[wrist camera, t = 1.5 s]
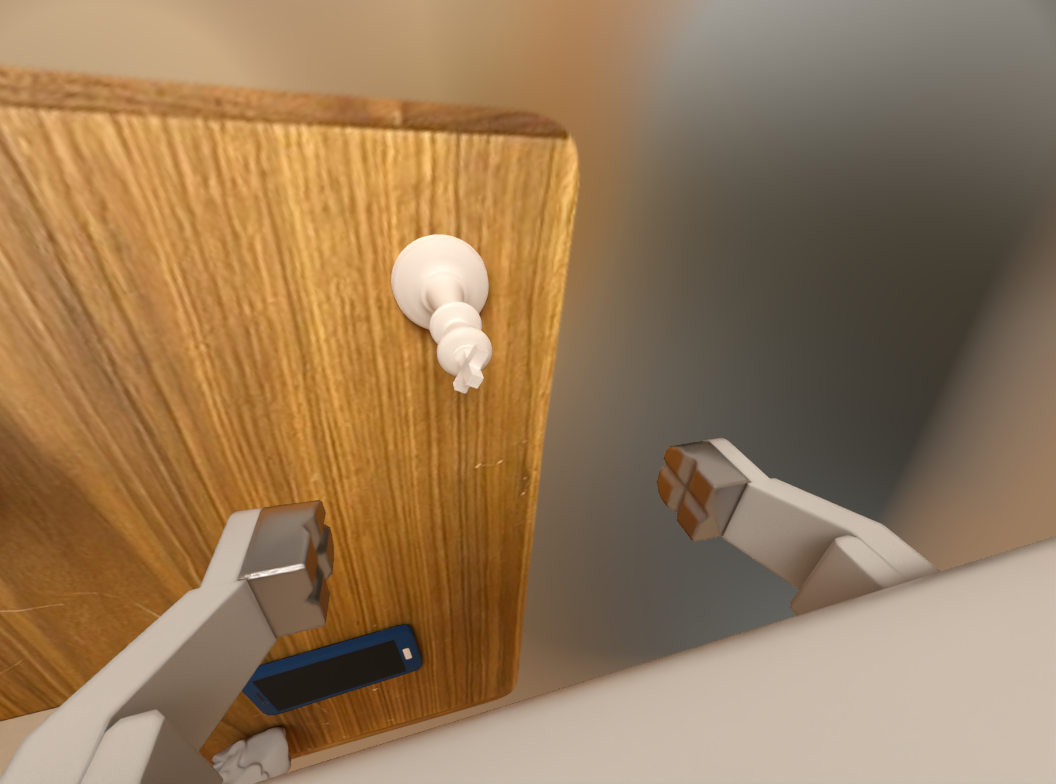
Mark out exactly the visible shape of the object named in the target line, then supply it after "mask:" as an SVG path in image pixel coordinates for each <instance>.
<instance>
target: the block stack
mask: <svg viewBox="0 0 1056 784" xmlns="http://www.w3.org/2000/svg"><path fill="white" fill-rule="evenodd" d="M58 708H59V707H57V708H53V709H49V710H45V711H41V712H37V713H33V714H29V715H25V716H20V717H16V718H12V719H8V720H4V721H0V777H1V775H2V773H3V772H4V770H5V768H6V767H7V765H8V763H9V762H10V760H11V758H12V757H13V755H14V753H15V752H16V750H17V748H18V747H19V745H20V743H21V742H22V740H23V739H24V738H25V737H26V736H27V735H29V734H30V733H31V732H32V731H33V730H34V729H35V728H36V727H38V726H39V725H40V724H41V723H42V722H43V721H44V720H45V719H46V718H48V717H49V716H50V715H51V714H52V713H53V712H54V711H55V710H57V709H58Z"/></svg>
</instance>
